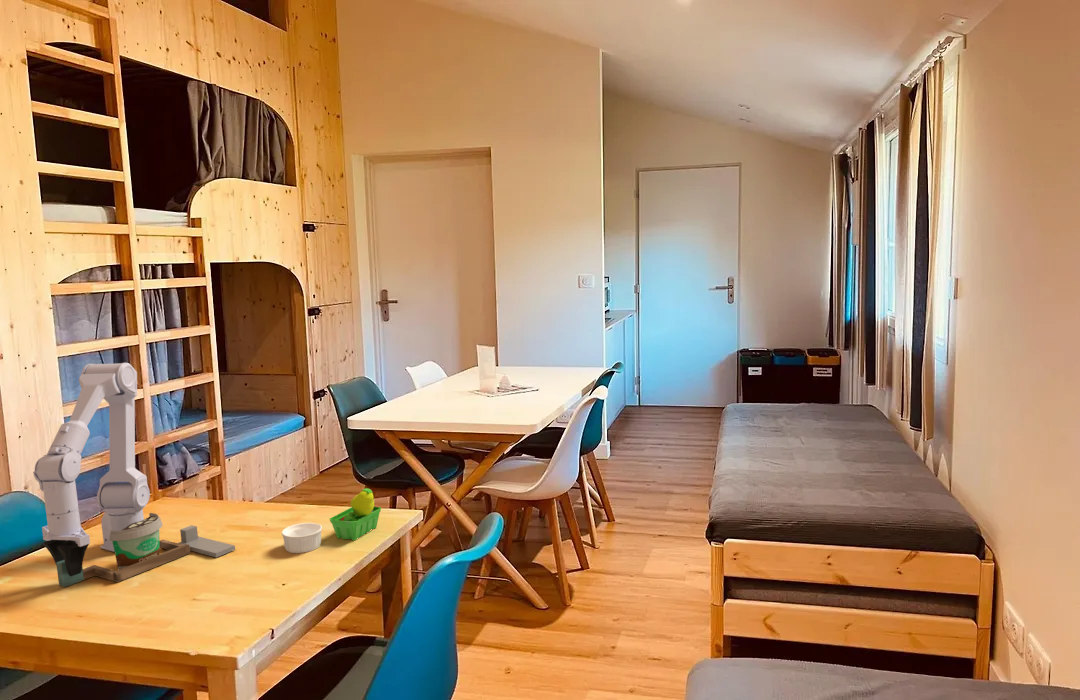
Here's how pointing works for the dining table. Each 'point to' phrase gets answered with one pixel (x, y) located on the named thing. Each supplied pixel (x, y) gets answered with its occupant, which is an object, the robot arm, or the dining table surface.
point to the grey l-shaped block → (203, 543)
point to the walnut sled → (124, 573)
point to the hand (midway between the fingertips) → (70, 572)
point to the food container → (137, 541)
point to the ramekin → (302, 537)
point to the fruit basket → (357, 517)
